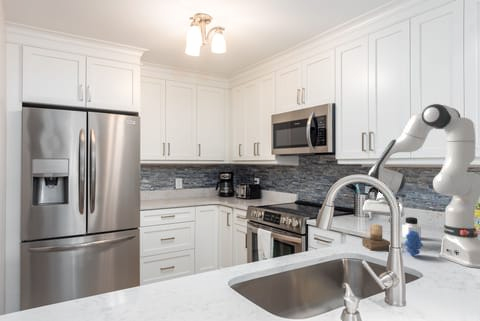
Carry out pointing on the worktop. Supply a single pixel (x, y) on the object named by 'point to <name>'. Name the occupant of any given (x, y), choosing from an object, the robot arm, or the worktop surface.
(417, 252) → the grapes
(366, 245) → the brown wooden tray
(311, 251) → the worktop surface
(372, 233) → the tan tall piece
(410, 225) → the medicine bottle
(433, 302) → the worktop surface
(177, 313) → the worktop surface
